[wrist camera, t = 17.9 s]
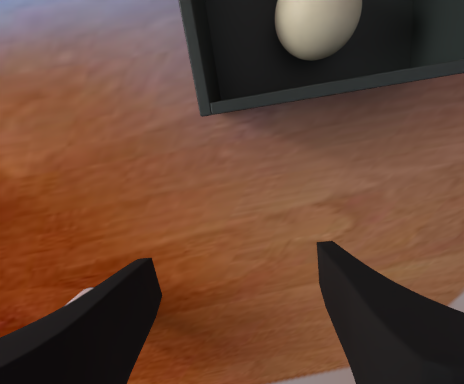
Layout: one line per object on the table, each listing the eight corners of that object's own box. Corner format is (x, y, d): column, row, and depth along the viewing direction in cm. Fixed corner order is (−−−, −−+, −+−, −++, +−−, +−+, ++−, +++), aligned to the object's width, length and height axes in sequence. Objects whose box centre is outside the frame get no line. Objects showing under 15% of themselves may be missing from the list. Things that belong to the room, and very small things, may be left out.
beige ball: (343, -25, 15) (378, -73, 11) (345, 58, 17) (378, 43, 13) (267, -9, 16) (274, -49, 12) (275, 71, 17) (284, 60, 13)
